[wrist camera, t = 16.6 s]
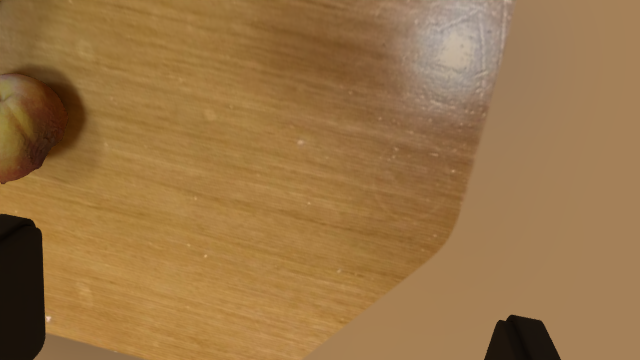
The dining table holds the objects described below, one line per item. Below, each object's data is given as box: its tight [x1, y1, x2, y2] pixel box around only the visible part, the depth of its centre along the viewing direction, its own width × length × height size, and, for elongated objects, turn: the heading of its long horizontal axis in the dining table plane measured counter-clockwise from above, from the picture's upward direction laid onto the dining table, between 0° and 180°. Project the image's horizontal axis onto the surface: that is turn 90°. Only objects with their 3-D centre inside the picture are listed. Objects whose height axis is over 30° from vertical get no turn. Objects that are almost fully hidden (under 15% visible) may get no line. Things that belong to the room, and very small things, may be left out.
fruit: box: [0, 74, 68, 184], centre depth 39 cm, size 8×8×8 cm
